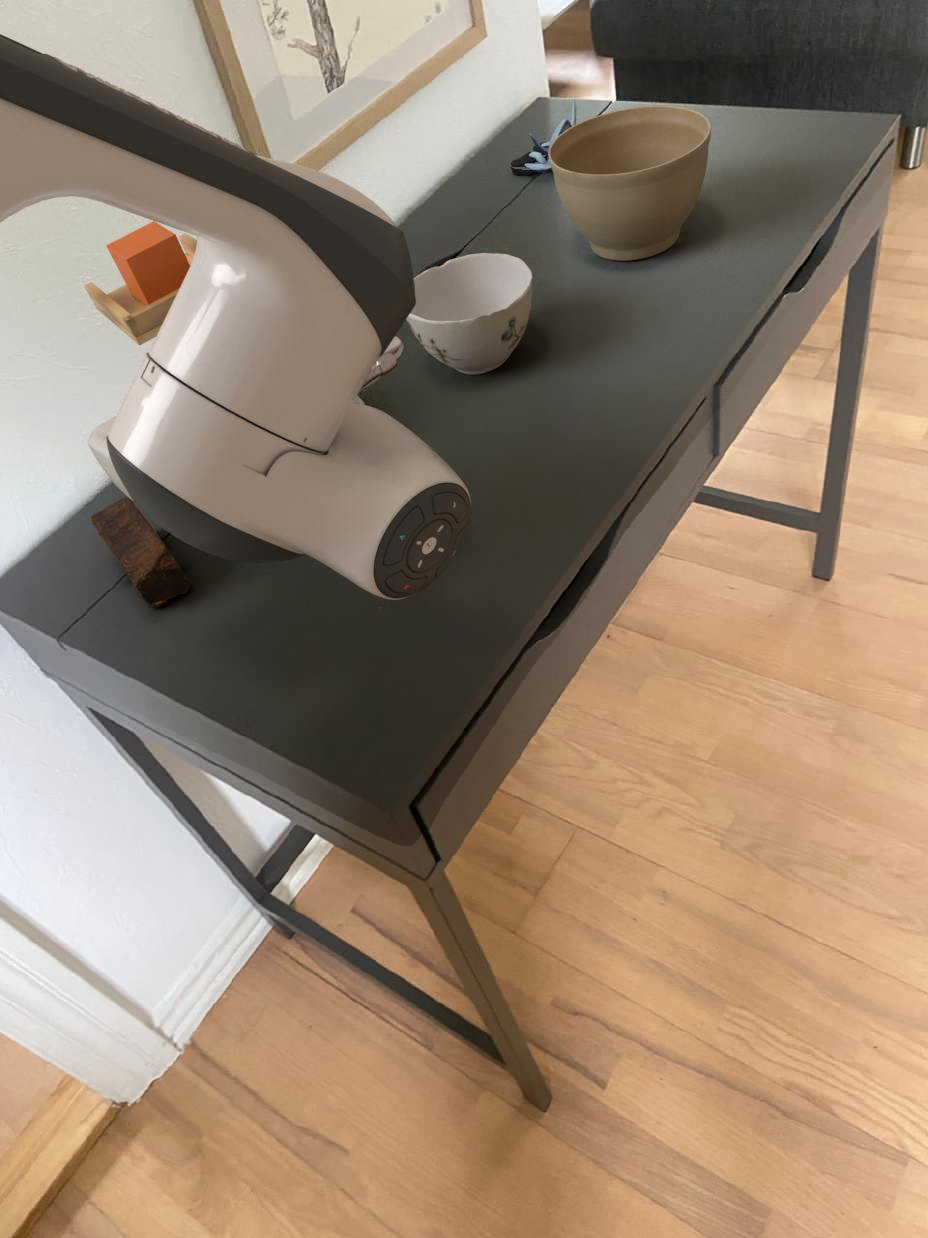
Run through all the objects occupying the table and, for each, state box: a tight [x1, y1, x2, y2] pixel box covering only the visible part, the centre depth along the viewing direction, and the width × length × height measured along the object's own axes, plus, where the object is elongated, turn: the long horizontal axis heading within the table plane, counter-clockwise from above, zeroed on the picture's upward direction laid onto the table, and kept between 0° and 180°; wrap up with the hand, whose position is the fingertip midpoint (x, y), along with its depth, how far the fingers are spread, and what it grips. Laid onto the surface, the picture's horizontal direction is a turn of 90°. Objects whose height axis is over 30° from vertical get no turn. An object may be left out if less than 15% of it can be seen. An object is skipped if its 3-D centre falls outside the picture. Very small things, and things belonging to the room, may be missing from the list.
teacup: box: [405, 252, 533, 375], centre depth 89 cm, size 15×12×8 cm
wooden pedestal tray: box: [83, 232, 197, 346], centre depth 65 cm, size 8×8×12 cm
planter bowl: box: [548, 104, 712, 262], centre depth 96 cm, size 16×16×11 cm
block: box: [106, 220, 190, 306], centre depth 60 cm, size 4×4×4 cm
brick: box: [90, 496, 191, 610], centre depth 78 cm, size 11×4×5 cm, turn 35°
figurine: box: [510, 99, 577, 176], centre depth 114 cm, size 10×12×8 cm
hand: (195, 358), depth 66 cm, fingers closed on wooden pedestal tray, 2 cm apart
